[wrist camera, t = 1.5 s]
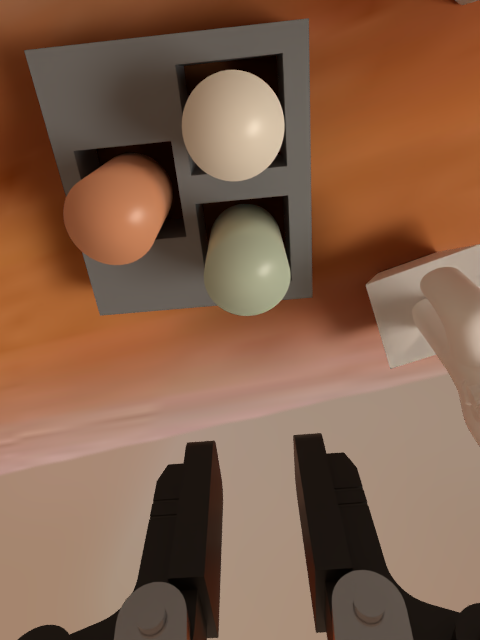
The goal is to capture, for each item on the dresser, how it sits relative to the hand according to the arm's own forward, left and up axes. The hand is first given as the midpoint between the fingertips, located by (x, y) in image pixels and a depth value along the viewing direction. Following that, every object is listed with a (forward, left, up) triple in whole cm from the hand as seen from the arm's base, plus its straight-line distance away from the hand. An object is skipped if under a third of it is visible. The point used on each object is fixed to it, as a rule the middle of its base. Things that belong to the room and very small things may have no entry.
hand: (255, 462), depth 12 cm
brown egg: (+6, -4, -18) cm, 19 cm away
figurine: (-12, +6, -21) cm, 25 cm away
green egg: (0, 0, -18) cm, 18 cm away
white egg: (0, -7, -18) cm, 19 cm away
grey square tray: (+3, -4, -21) cm, 22 cm away
